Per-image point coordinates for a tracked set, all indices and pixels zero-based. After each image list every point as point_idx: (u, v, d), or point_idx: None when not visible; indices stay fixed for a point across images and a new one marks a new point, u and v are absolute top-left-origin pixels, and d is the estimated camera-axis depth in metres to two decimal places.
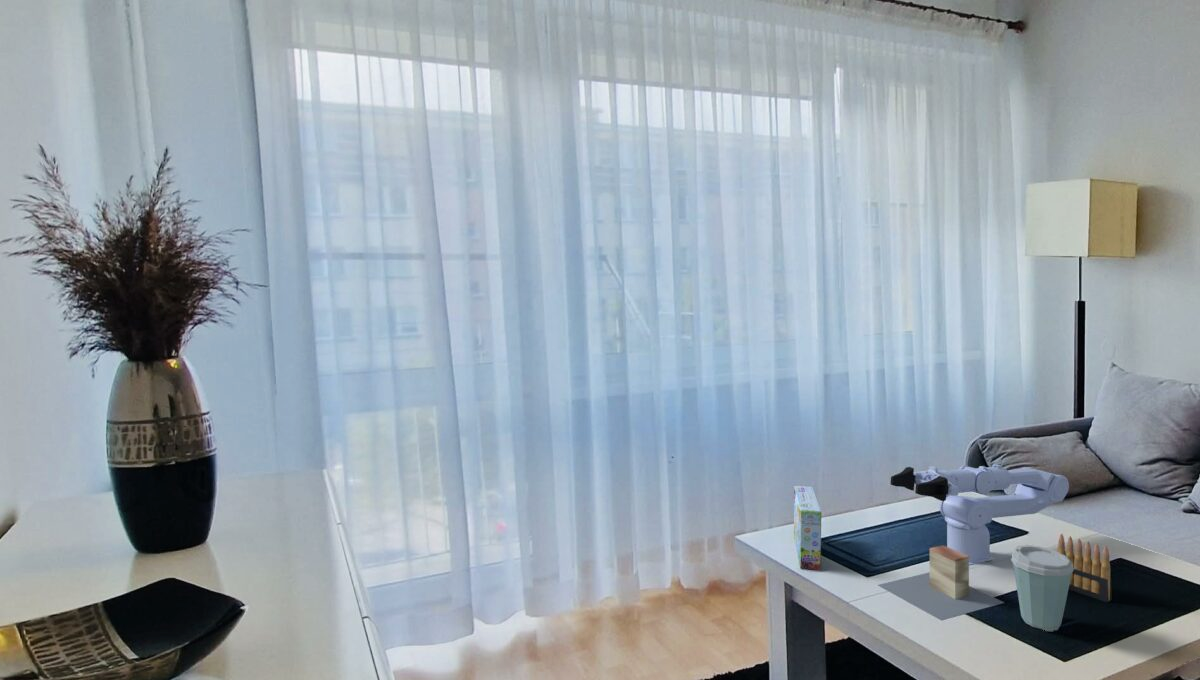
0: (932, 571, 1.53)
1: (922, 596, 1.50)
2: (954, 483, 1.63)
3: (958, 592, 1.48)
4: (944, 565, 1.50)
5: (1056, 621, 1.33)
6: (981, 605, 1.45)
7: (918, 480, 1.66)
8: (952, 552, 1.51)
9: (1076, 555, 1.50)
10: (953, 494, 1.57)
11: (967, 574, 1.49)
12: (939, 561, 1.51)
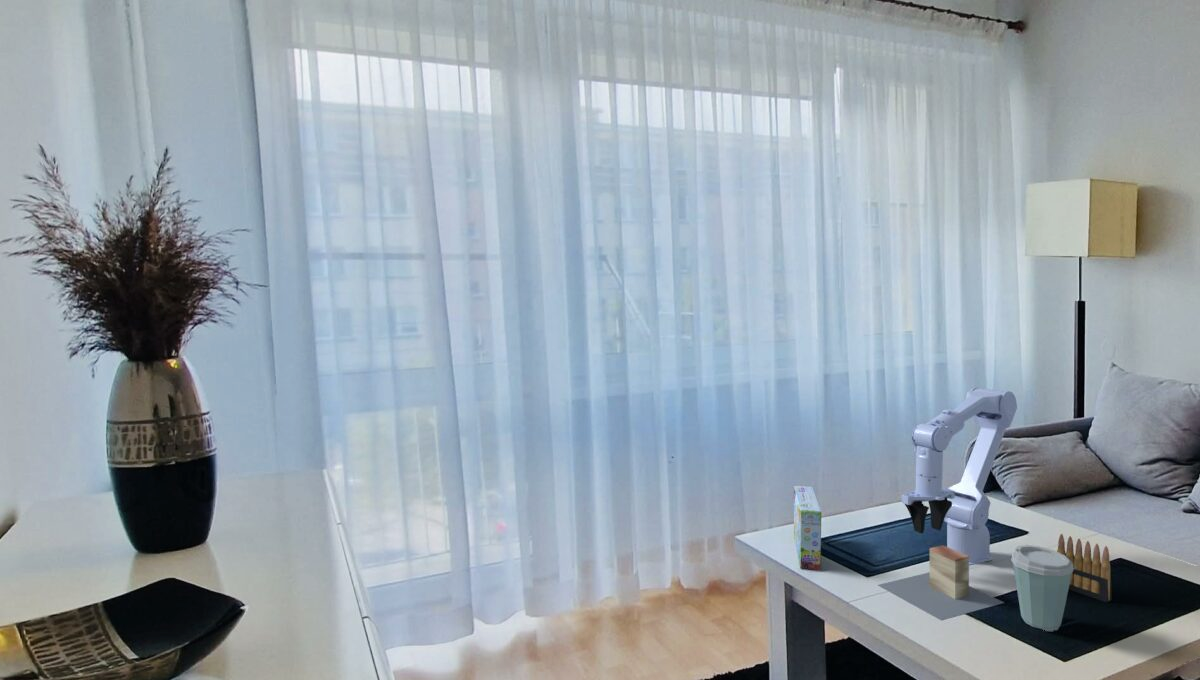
0: (932, 571, 1.53)
1: (922, 596, 1.50)
2: None
3: (958, 592, 1.48)
4: (944, 565, 1.50)
5: (1056, 621, 1.33)
6: (981, 605, 1.45)
7: None
8: (952, 552, 1.51)
9: (1076, 555, 1.50)
10: None
11: (967, 574, 1.49)
12: (939, 561, 1.51)
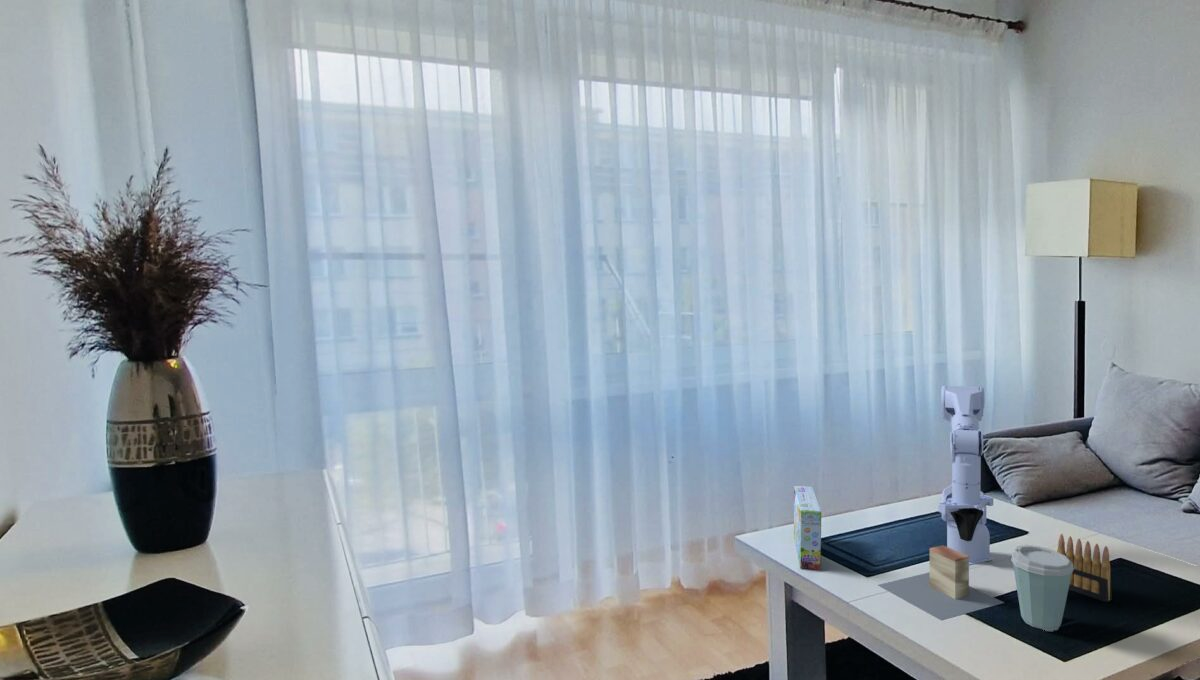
0: (932, 571, 1.53)
1: (922, 596, 1.50)
2: None
3: (958, 592, 1.48)
4: (944, 565, 1.50)
5: (1056, 621, 1.33)
6: (981, 605, 1.45)
7: None
8: (952, 552, 1.51)
9: (1076, 555, 1.50)
10: None
11: (967, 574, 1.49)
12: (939, 561, 1.51)
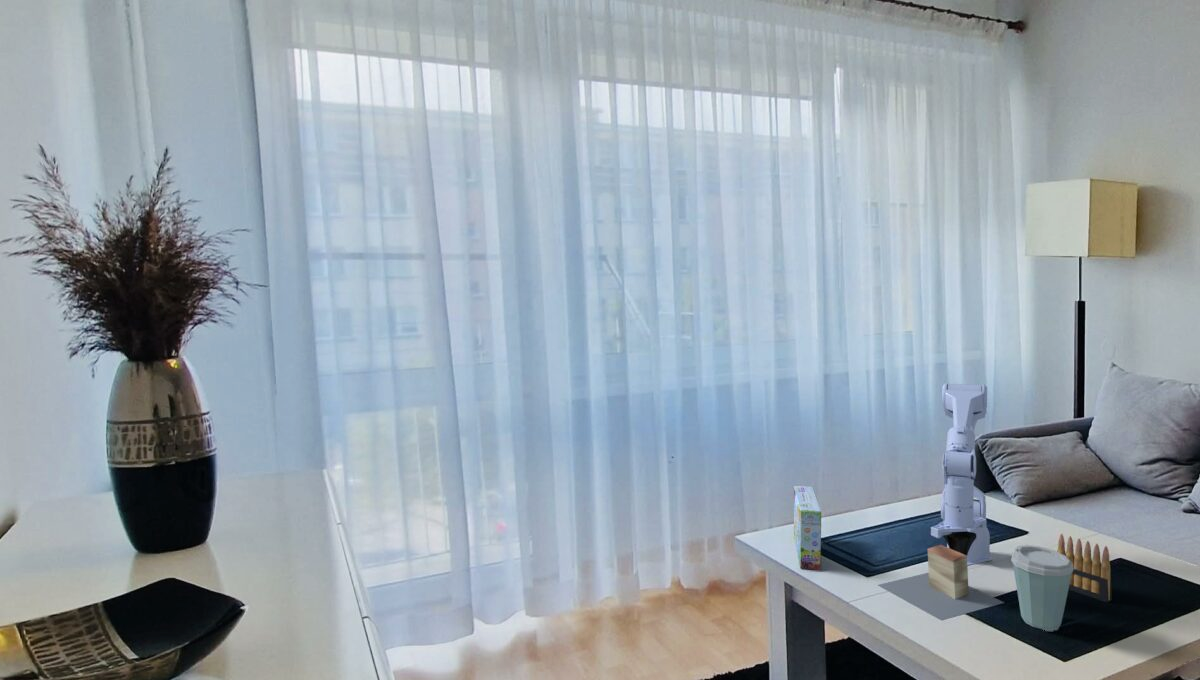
0: (931, 572, 1.53)
1: (922, 596, 1.50)
2: None
3: (958, 592, 1.48)
4: (942, 565, 1.50)
5: (1056, 621, 1.33)
6: (981, 605, 1.45)
7: None
8: (950, 552, 1.51)
9: (1076, 555, 1.50)
10: None
11: (966, 573, 1.49)
12: (937, 561, 1.51)
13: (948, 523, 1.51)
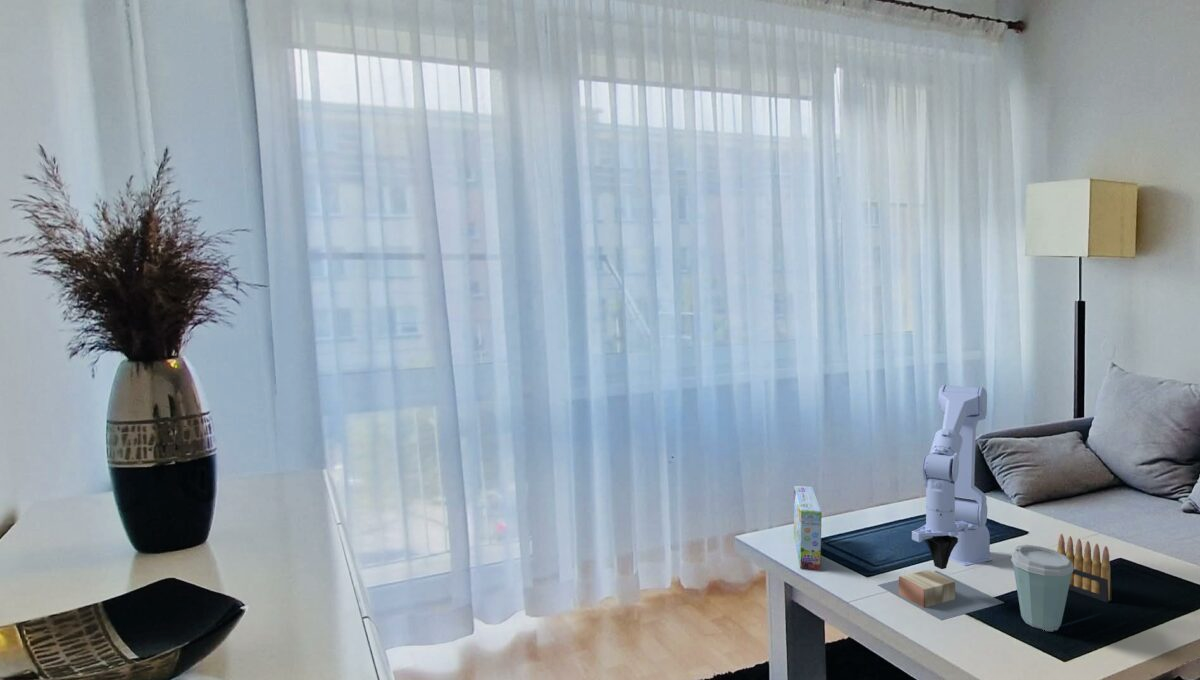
0: None
1: None
2: None
3: (950, 596, 1.47)
4: None
5: (1056, 621, 1.33)
6: (981, 605, 1.45)
7: None
8: (912, 590, 1.47)
9: (1076, 555, 1.50)
10: None
11: (938, 587, 1.46)
12: None
13: (929, 527, 1.49)
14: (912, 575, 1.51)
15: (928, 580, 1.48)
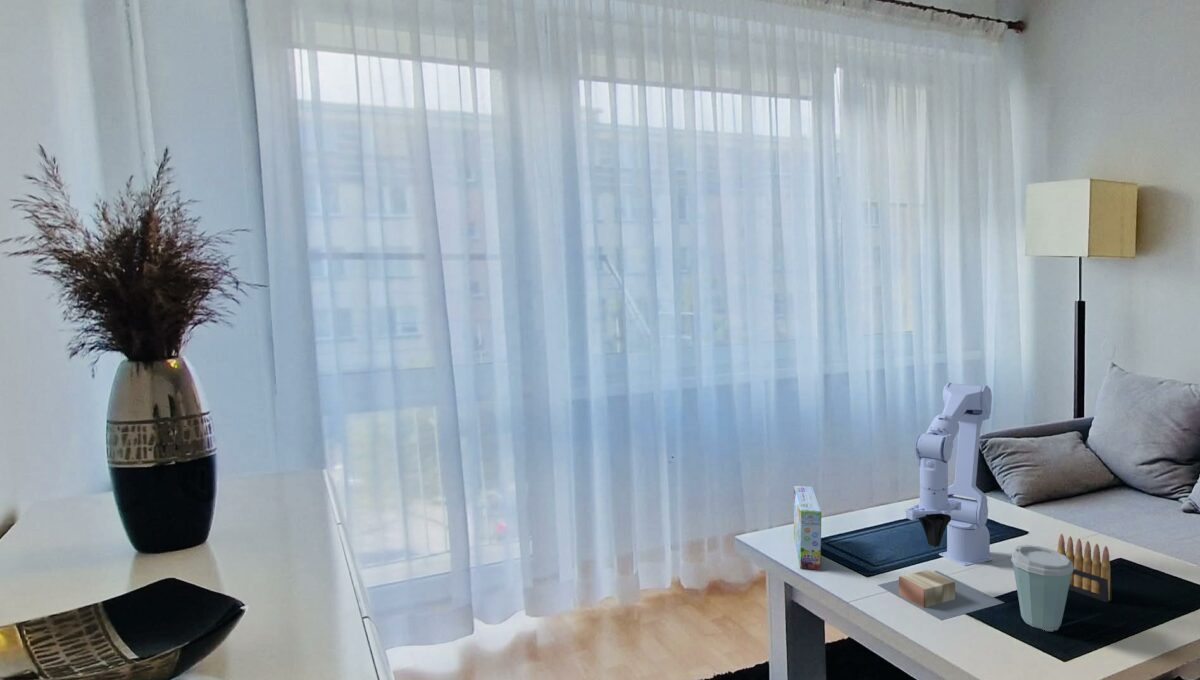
0: None
1: None
2: None
3: (950, 596, 1.47)
4: None
5: (1056, 621, 1.33)
6: (981, 605, 1.45)
7: None
8: (912, 590, 1.47)
9: (1076, 555, 1.50)
10: None
11: (938, 587, 1.46)
12: None
13: (923, 505, 1.52)
14: (912, 575, 1.51)
15: (928, 580, 1.48)
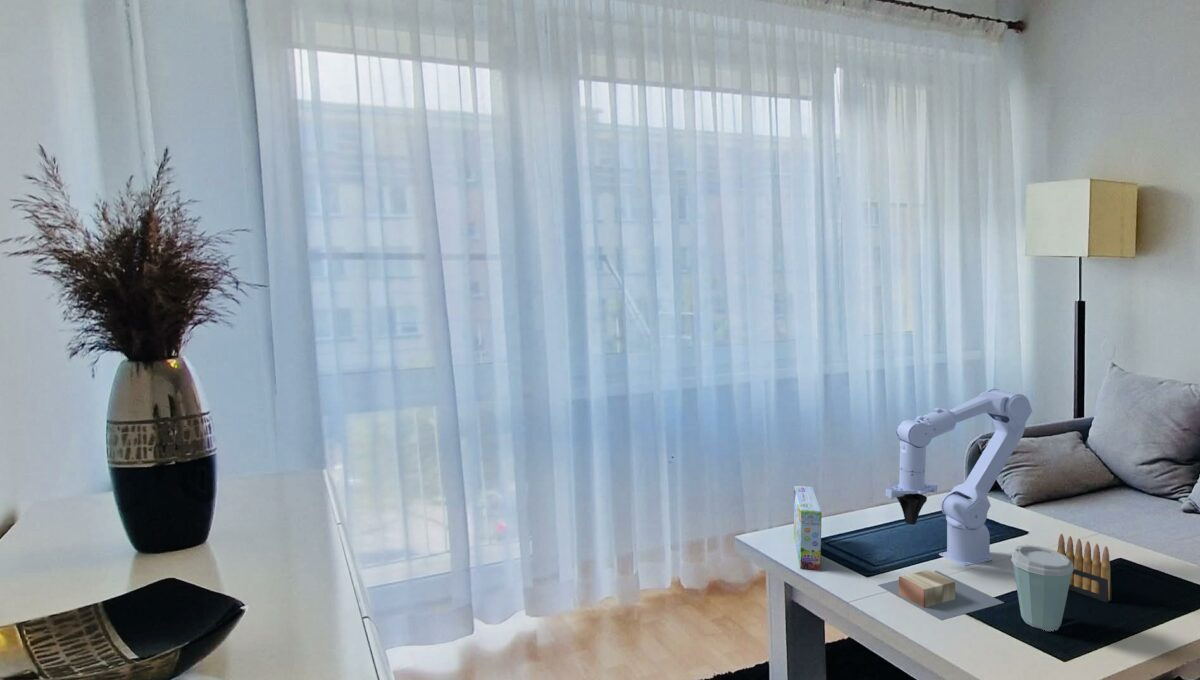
0: None
1: None
2: None
3: (950, 596, 1.47)
4: None
5: (1056, 621, 1.33)
6: (981, 605, 1.45)
7: None
8: (912, 590, 1.47)
9: (1076, 555, 1.50)
10: None
11: (938, 587, 1.46)
12: None
13: (901, 486, 1.65)
14: (912, 575, 1.51)
15: (928, 580, 1.48)
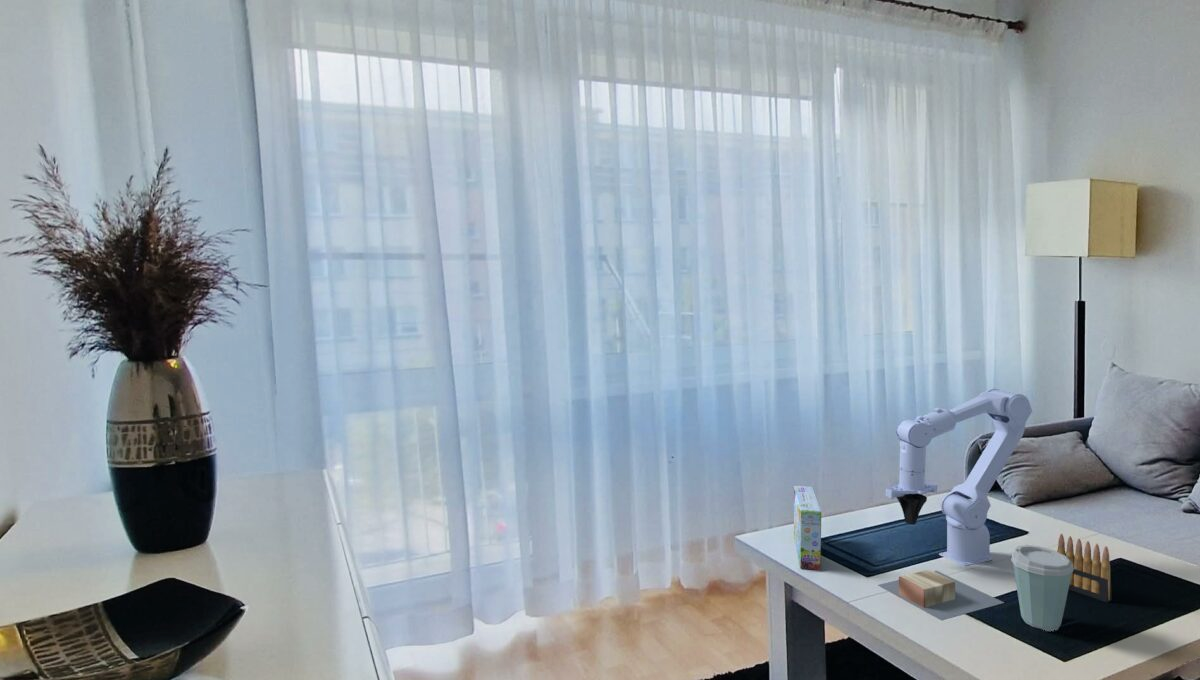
0: None
1: None
2: None
3: (950, 596, 1.47)
4: None
5: (1056, 621, 1.33)
6: (981, 605, 1.45)
7: None
8: (912, 590, 1.47)
9: (1076, 555, 1.50)
10: None
11: (938, 587, 1.46)
12: None
13: (901, 486, 1.65)
14: (912, 575, 1.51)
15: (928, 580, 1.48)
